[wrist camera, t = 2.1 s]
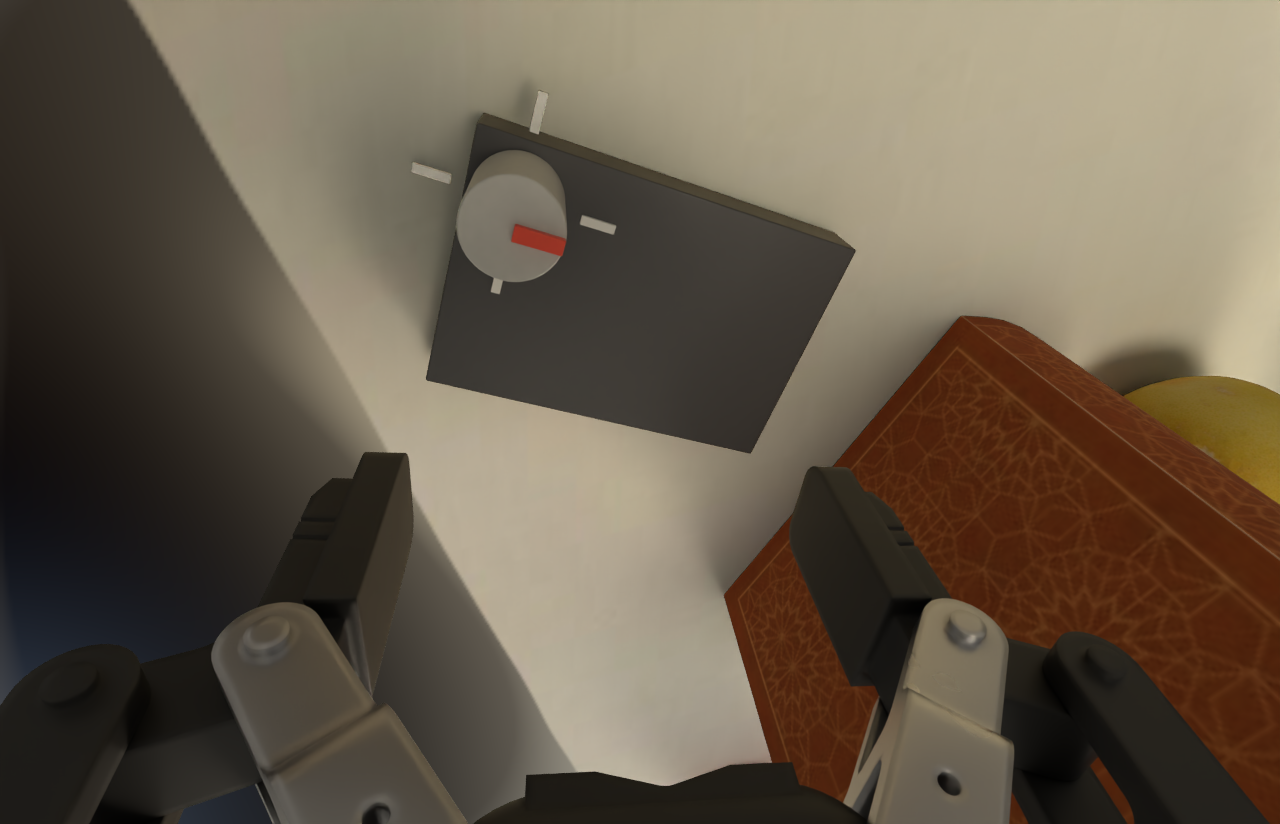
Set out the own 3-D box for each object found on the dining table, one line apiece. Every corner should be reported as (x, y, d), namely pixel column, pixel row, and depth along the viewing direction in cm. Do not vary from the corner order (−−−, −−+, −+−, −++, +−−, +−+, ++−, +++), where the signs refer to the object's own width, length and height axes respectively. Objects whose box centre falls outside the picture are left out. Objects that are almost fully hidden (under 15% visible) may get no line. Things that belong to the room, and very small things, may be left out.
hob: (392, 344, 30) (379, 372, 28) (441, 46, 24) (430, 51, 22) (738, 426, 35) (751, 456, 32) (853, 196, 29) (878, 212, 26)
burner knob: (460, 230, 25) (445, 269, 21) (480, 135, 23) (466, 160, 20) (551, 257, 26) (551, 298, 22) (576, 167, 24) (580, 196, 21)
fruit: (1168, 307, 34) (1373, 408, 25) (1245, 409, 38) (1439, 524, 30) (1005, 438, 37) (1136, 565, 29) (1092, 517, 42) (1228, 647, 33)
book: (820, 626, 44) (1169, 1439, 19) (723, 595, 42) (985, 1501, 16) (1078, 363, 35) (2435, 1293, 10) (975, 298, 32) (2524, 1380, 7)
